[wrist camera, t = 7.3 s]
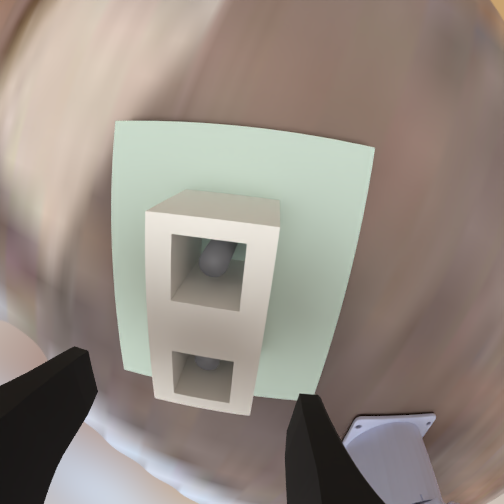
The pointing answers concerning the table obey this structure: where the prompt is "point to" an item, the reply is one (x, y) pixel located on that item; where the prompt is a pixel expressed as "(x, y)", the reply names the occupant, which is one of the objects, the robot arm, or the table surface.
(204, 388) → the beige hollow block
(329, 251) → the pin plate
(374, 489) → the robot arm
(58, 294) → the table surface
